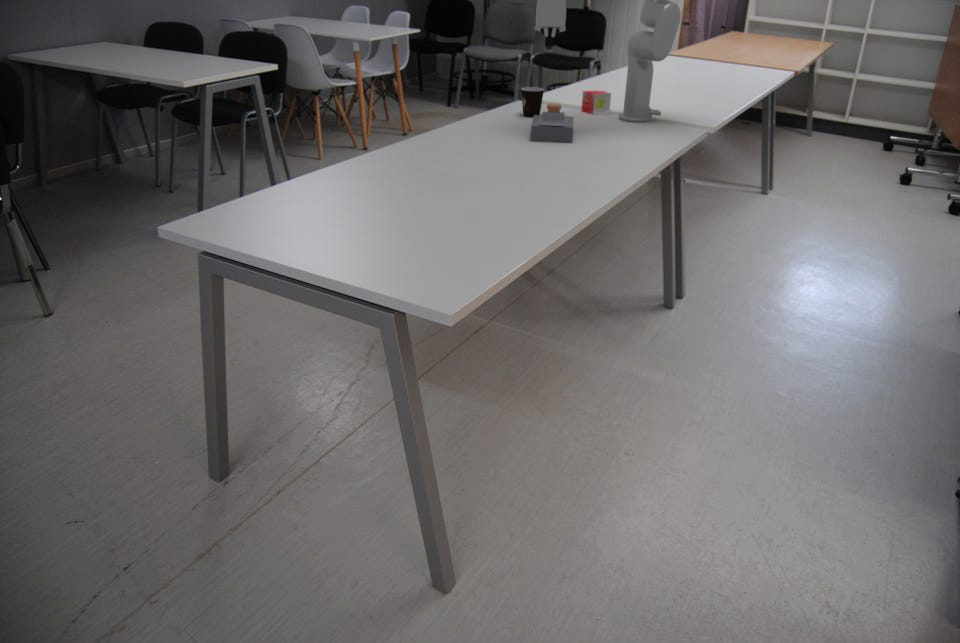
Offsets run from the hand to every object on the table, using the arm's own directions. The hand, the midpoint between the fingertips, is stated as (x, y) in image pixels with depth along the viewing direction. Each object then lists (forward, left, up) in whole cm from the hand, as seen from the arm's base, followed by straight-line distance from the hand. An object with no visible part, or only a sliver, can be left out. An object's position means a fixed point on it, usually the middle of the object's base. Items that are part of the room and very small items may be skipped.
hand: (549, 48), depth 256 cm
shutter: (-3, +17, -22) cm, 28 cm away
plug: (-3, +9, -27) cm, 29 cm away
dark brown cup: (+6, -22, -27) cm, 36 cm away
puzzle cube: (-19, -32, -27) cm, 46 cm away
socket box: (-3, +12, -27) cm, 30 cm away
